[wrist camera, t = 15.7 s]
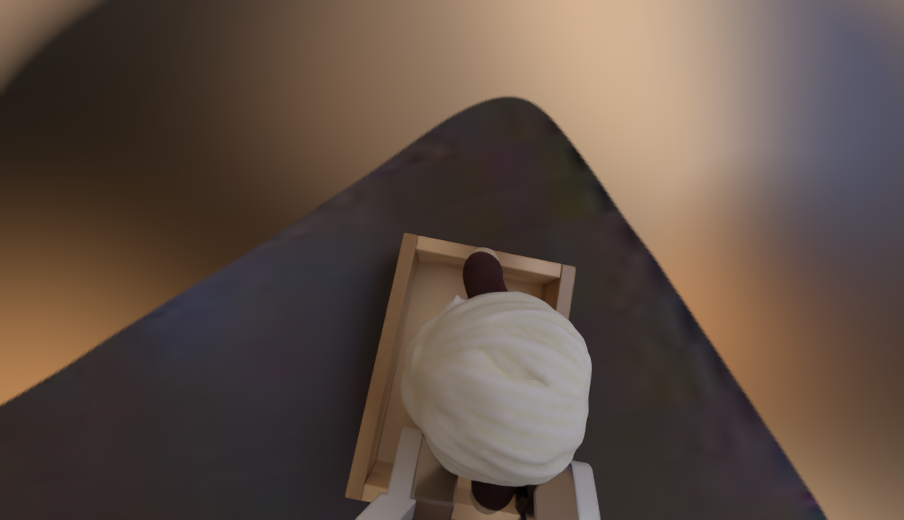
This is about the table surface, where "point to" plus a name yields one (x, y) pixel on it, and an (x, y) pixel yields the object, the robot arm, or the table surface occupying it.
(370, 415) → the holder
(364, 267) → the table surface
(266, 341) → the table surface
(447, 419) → the grandmother figurine
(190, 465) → the table surface
